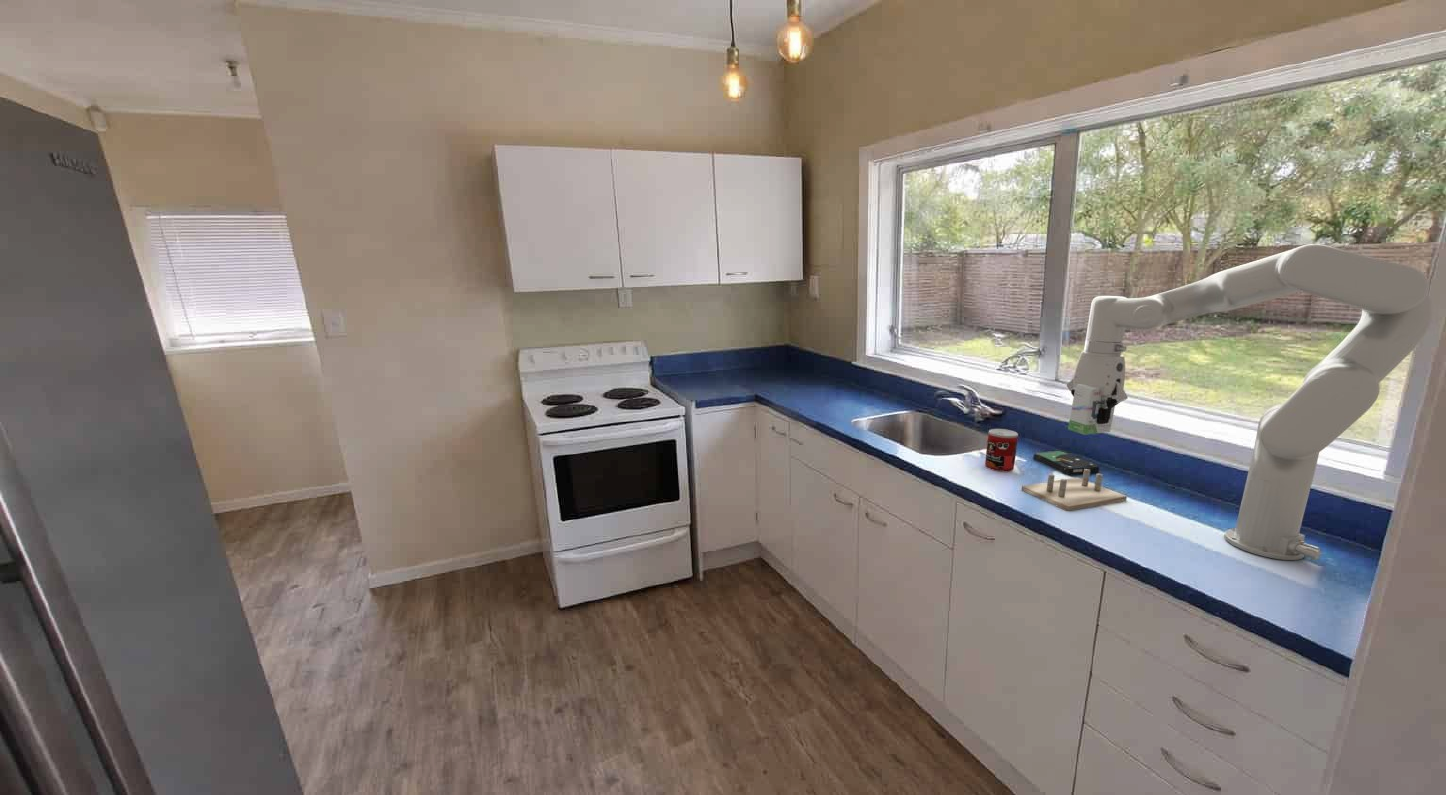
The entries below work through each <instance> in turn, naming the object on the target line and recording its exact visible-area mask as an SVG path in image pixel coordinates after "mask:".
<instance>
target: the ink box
mask: <svg viewBox="0 0 1446 795" xmlns="http://www.w3.org/2000/svg"><path fill="white" fill-rule="evenodd" d="M1113 394H1114V393H1113ZM1113 397H1114V398H1116V397H1117V396H1116V395H1113ZM1107 399H1108V398H1107ZM1107 401H1108V400H1107ZM1099 408H1102V404H1101V396H1100V395H1099V388H1094V387H1091V386H1087V385H1084V384H1077V385H1076V387H1075V393H1074V397H1073V399H1072V405H1071V409H1070V415H1069V421H1068V427H1067V430H1069V431H1071V432H1074V433H1078V434H1082V435H1083V436H1086V435H1094V434H1102V433H1109V432H1111V430H1112V424H1113V419H1114V414H1115V408H1116V407H1114V408H1111V414H1110V419H1109V422H1108V423H1106V424H1097V418H1098V412H1099Z"/></svg>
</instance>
